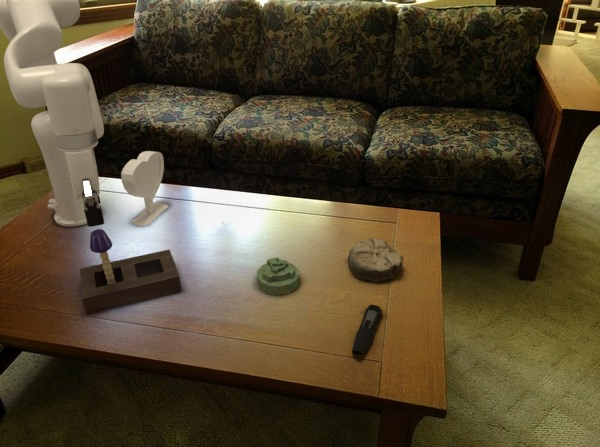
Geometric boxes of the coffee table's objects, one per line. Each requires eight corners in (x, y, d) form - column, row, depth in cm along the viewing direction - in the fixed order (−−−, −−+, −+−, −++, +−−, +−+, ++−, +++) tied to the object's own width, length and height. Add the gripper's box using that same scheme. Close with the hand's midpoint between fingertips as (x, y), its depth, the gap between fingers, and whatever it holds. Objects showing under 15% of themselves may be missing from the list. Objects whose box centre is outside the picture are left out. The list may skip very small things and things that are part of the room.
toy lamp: (116, 299, 119) (102, 238, 110) (98, 297, 119) (82, 236, 111) (126, 287, 123) (113, 227, 114) (108, 284, 123) (94, 224, 115)
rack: (83, 283, 124) (79, 268, 121) (171, 264, 131) (169, 249, 128) (86, 314, 114) (82, 298, 112) (181, 291, 121) (179, 276, 119)
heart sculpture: (143, 228, 145) (133, 170, 136) (128, 225, 147) (116, 167, 137) (171, 203, 158) (164, 148, 149) (157, 200, 159) (148, 145, 150)
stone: (385, 249, 137) (387, 231, 134) (409, 277, 126) (412, 259, 123) (339, 258, 133) (339, 240, 131) (360, 288, 122) (361, 270, 120)
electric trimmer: (346, 358, 103) (347, 347, 102) (366, 310, 116) (367, 299, 114) (364, 363, 102) (365, 352, 101) (383, 314, 115) (384, 303, 113)
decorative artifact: (290, 298, 119) (304, 274, 127) (290, 274, 115) (304, 250, 123) (250, 290, 122) (266, 266, 130) (249, 265, 118) (265, 242, 126)
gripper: (55, 126, 107) (74, 200, 116) (56, 157, 93) (77, 237, 102) (93, 122, 110) (109, 194, 118) (100, 150, 96) (117, 230, 104)
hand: (94, 214), depth 110 cm, fingers open, 9 cm apart
